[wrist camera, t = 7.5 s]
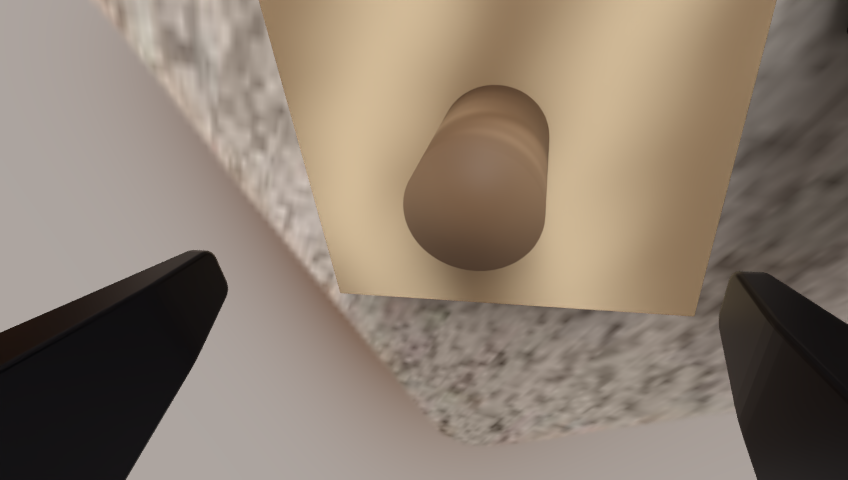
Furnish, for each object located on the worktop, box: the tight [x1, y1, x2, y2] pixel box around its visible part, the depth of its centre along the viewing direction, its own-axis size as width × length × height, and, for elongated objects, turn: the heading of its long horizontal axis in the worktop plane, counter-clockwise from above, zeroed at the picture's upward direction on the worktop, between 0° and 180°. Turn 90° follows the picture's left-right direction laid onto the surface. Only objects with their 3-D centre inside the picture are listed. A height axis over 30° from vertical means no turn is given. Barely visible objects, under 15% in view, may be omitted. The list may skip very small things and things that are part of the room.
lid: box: [259, 0, 777, 316], centre depth 13 cm, size 13×13×5 cm
